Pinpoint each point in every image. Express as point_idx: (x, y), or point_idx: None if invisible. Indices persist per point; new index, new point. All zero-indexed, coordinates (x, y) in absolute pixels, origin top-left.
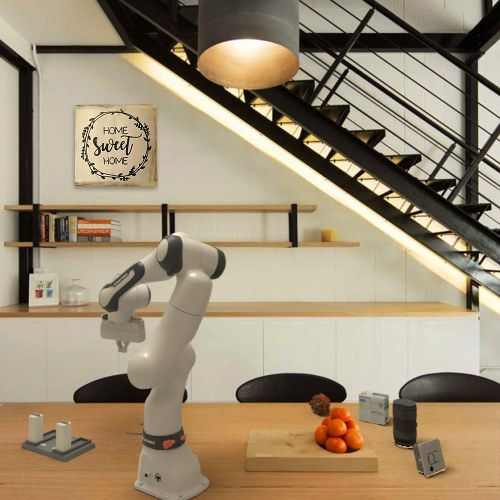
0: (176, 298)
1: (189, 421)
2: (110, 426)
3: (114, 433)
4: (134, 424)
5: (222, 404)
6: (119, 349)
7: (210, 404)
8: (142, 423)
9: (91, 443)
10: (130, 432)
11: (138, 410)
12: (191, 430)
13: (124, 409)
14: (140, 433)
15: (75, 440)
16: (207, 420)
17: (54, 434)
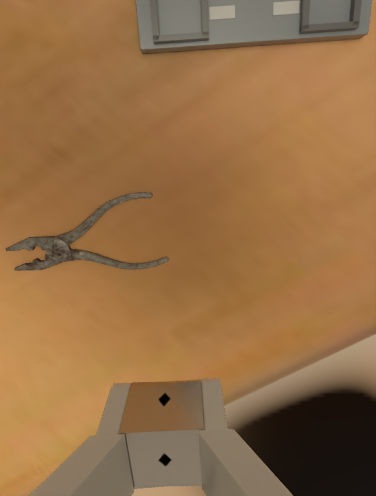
0: None
1: (62, 342)
2: (231, 200)
3: (176, 168)
4: (178, 250)
5: None
6: (193, 405)
7: None
8: (157, 263)
9: (145, 37)
10: (134, 196)
11: (250, 330)
12: (9, 301)
13: (296, 315)
14: (102, 207)
15: (201, 4)
16: (29, 369)
17: (329, 10)
